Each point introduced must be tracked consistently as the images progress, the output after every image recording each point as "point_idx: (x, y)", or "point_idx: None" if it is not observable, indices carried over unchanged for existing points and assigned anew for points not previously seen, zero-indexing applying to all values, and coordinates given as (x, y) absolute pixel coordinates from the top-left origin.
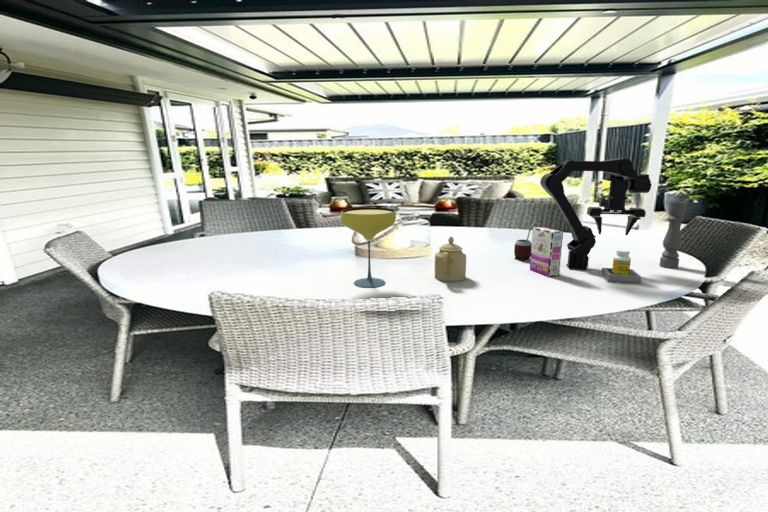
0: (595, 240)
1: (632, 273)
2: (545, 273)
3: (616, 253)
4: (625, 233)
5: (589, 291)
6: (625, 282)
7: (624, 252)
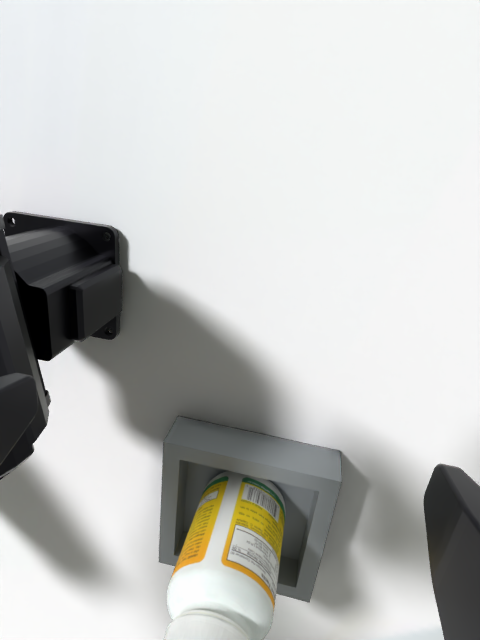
0: (12, 467)
1: (310, 523)
2: None
3: (167, 631)
4: (443, 480)
5: (72, 606)
6: None
7: None
